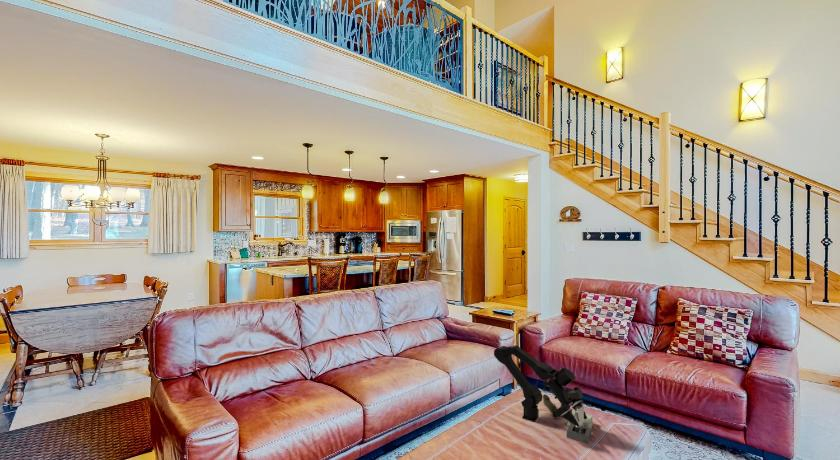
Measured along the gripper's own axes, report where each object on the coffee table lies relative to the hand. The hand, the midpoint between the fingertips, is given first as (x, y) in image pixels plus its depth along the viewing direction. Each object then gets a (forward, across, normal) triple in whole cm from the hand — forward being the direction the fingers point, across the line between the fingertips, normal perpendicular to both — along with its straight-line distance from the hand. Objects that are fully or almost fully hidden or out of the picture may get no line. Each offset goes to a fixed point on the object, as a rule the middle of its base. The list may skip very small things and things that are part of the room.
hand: (582, 422), depth 175 cm
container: (+1, +10, +8) cm, 14 cm away
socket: (+4, 0, +6) cm, 7 cm away
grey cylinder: (+4, 0, +6) cm, 7 cm away
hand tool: (-11, +16, +22) cm, 29 cm away
